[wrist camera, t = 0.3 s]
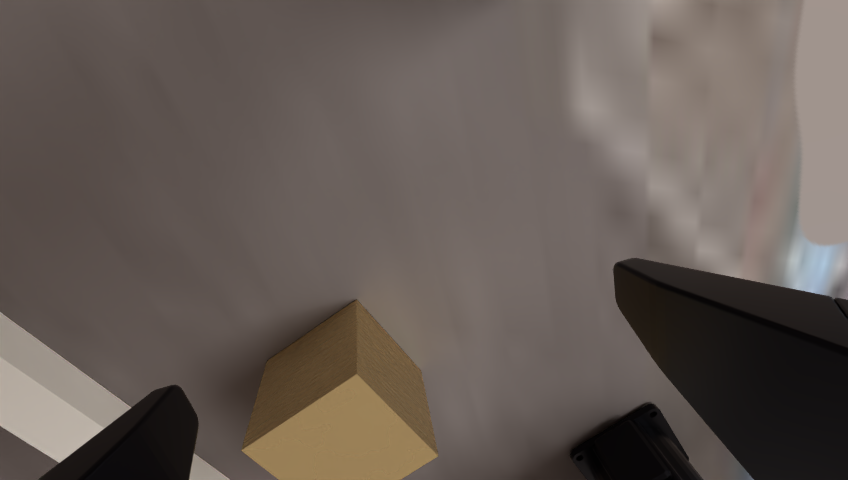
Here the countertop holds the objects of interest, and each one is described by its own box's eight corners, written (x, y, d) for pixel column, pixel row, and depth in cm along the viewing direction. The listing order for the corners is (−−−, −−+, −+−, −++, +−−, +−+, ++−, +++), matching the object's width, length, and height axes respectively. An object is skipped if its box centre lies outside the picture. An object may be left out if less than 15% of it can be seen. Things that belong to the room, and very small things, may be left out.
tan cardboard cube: (421, 370, 26) (438, 455, 21) (337, 424, 27) (332, 521, 21) (356, 299, 24) (356, 374, 18) (267, 360, 24) (241, 450, 19)
